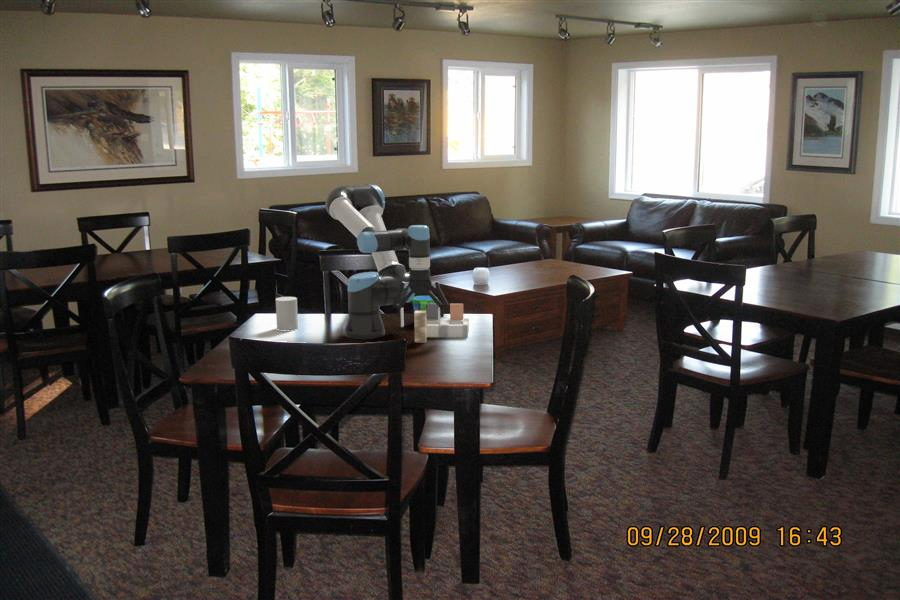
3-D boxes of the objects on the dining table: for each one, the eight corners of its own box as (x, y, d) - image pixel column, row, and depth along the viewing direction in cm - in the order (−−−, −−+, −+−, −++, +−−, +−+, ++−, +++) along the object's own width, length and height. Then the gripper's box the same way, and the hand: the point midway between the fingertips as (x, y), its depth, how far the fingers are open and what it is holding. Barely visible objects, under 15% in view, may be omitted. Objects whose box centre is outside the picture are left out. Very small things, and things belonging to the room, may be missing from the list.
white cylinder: (286, 325, 335) (285, 296, 333) (302, 327, 331) (301, 297, 329) (272, 329, 328) (271, 299, 326) (288, 332, 324) (287, 301, 322)
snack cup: (416, 317, 347) (415, 293, 345) (441, 318, 346) (440, 294, 344) (408, 326, 332) (407, 301, 330) (434, 327, 330) (434, 301, 328)
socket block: (419, 337, 314) (419, 309, 312) (422, 329, 326) (421, 303, 324) (467, 337, 313) (467, 309, 311) (468, 329, 325) (468, 303, 323)
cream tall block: (414, 342, 307) (414, 312, 304) (415, 339, 310) (415, 310, 308) (425, 342, 306) (425, 313, 304) (426, 339, 310) (426, 310, 308)
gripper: (383, 270, 300) (385, 328, 304) (453, 269, 299) (454, 328, 303) (386, 267, 307) (388, 324, 311) (454, 266, 306) (455, 323, 310)
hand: (421, 326), depth 307 cm, fingers open, 13 cm apart
